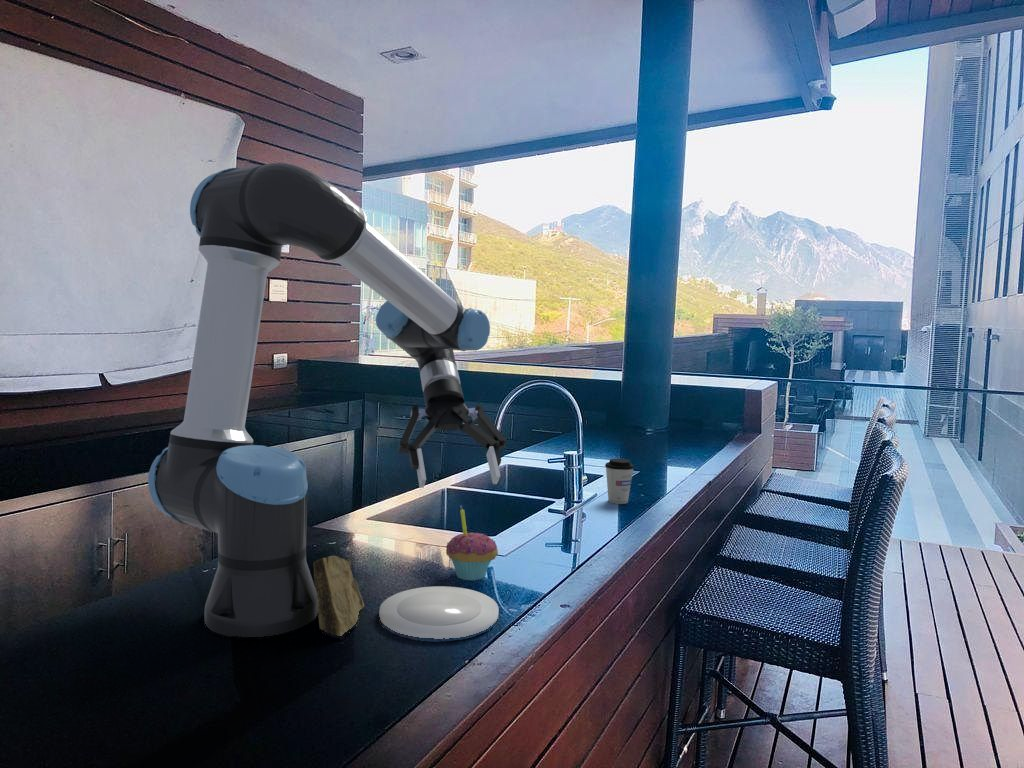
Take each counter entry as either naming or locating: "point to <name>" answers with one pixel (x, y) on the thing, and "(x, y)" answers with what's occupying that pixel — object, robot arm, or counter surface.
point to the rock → (336, 595)
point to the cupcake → (471, 553)
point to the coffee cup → (619, 480)
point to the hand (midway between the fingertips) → (460, 482)
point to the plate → (439, 612)
